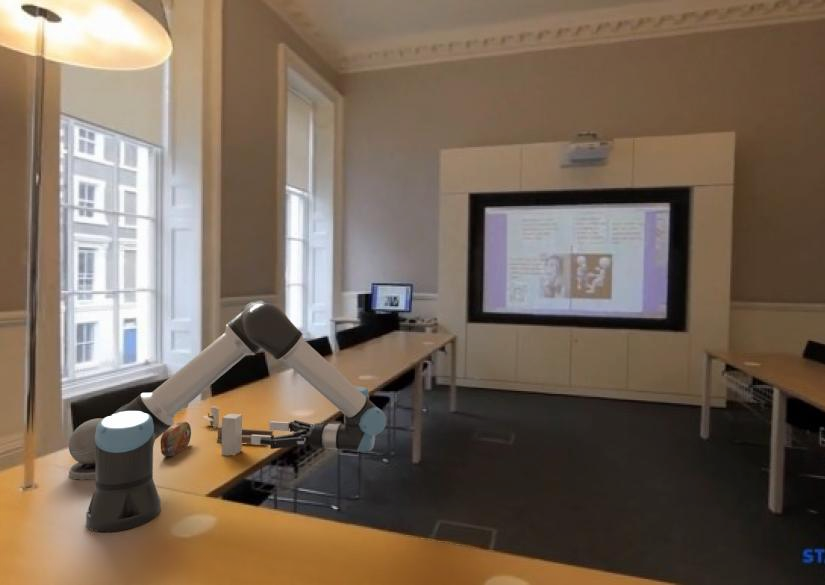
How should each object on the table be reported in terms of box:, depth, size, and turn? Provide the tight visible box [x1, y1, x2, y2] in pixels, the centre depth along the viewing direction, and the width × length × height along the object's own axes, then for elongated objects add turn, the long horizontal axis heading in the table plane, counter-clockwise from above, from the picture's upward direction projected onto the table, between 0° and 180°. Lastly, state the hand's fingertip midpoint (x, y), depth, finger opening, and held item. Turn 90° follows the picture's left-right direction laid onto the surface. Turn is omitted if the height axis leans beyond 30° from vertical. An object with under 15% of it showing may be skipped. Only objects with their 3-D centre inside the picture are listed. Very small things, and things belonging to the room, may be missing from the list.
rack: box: [216, 424, 275, 445], centre depth 167 cm, size 8×17×5 cm, turn 83°
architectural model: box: [202, 405, 220, 428], centre depth 181 cm, size 3×7×7 cm, turn 45°
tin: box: [160, 421, 192, 457], centre depth 155 cm, size 15×3×8 cm, turn 179°
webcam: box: [68, 417, 105, 480], centre depth 138 cm, size 13×13×15 cm
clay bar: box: [221, 413, 243, 456], centre depth 155 cm, size 4×4×12 cm
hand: (261, 432), depth 153 cm, fingers open, 13 cm apart
